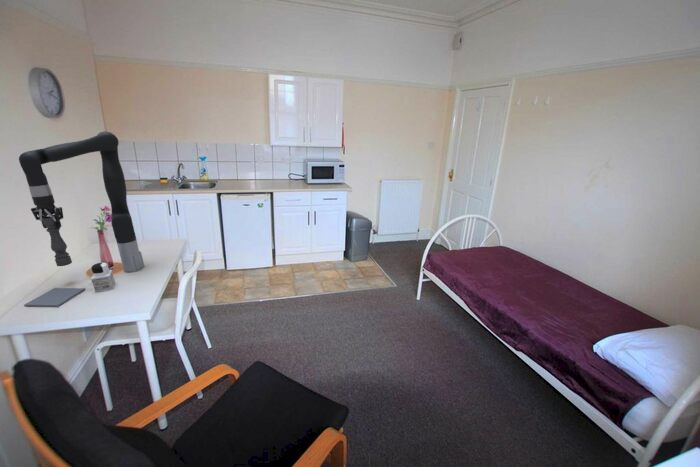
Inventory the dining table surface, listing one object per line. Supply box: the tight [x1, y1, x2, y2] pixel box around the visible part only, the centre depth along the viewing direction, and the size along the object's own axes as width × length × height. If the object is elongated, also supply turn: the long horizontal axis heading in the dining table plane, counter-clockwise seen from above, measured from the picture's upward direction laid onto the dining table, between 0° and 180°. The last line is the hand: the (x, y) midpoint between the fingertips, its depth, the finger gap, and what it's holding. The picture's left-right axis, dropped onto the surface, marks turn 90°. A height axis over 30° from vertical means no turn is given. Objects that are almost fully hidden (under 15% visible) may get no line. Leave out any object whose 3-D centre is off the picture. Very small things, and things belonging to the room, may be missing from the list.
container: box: [90, 262, 116, 293], centre depth 168 cm, size 8×8×13 cm
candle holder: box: [42, 215, 73, 267], centre depth 167 cm, size 6×6×25 cm
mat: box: [23, 287, 86, 308], centre depth 160 cm, size 16×16×1 cm
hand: (52, 227), depth 165 cm, fingers closed on candle holder, 5 cm apart
